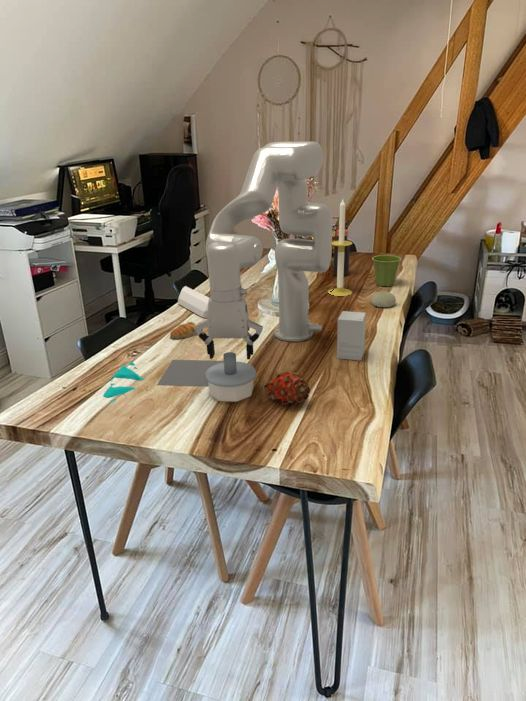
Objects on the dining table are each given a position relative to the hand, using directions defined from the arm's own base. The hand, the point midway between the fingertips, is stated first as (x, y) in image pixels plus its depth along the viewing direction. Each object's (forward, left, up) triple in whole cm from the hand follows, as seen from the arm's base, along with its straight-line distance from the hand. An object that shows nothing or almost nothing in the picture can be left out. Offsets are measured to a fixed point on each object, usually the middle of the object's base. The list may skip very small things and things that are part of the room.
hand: (230, 356), depth 133 cm
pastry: (+23, -38, -10) cm, 45 cm away
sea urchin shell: (-46, -71, -10) cm, 85 cm away
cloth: (+31, -3, -11) cm, 33 cm away
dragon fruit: (-15, +5, -10) cm, 19 cm away
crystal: (+24, -63, -11) cm, 68 cm away
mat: (+13, -9, -10) cm, 19 cm away
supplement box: (-32, -24, -10) cm, 41 cm away
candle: (-30, -84, -10) cm, 90 cm away
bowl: (0, +1, -10) cm, 10 cm away
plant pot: (-49, -96, -10) cm, 109 cm away
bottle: (-31, -110, -10) cm, 115 cm away
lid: (0, +1, -5) cm, 5 cm away
